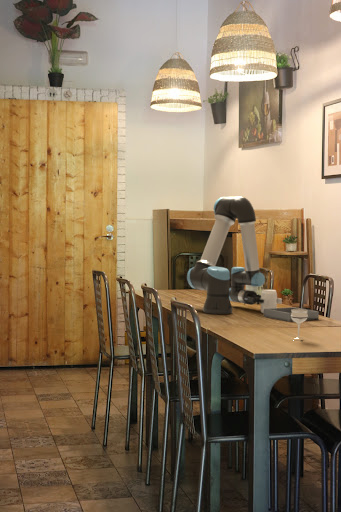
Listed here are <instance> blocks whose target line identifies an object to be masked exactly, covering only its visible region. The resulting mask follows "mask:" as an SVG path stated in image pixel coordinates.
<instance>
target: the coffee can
mask: <svg viewBox="0 0 341 512" xmlns="http://www.w3.org/2000/svg"><path fill="white" fill-rule="evenodd" d="M245 290H250V291H254V292H256V293H257V295H261V292H262V290H264V284H263V285H262V286H259V287H253V286H248V285H245ZM259 304H261V303H260V302H259Z"/></svg>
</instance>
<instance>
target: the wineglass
mask: <svg viewBox="0 0 341 512" xmlns="http://www.w3.org/2000/svg"><path fill="white" fill-rule="evenodd" d="M302 309H303V308H301V309H292V310H291V311H292V313H291V319H292V320H293V321H292V322H294V323H296V325H297V337H296V338H294V339H302V338H300V329H301V328H300V327H301V324H302V323H304V322H305V320H306V319H307V317H308V315H307V311H308V310H309V309H306V310H302Z"/></svg>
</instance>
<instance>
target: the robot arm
mask: <svg viewBox="0 0 341 512" xmlns="http://www.w3.org/2000/svg"><path fill="white" fill-rule="evenodd" d="M213 212H214V215H213V217H214V220H215V221H214V224H213V226H212V229H211V231H210V234H209V237H208V239H207V242H206V245H205V246H204V249H203V253H202V255H201V257H200V260H197V261H196V262H195V265H194V266H193V267H191V268H189V269H188V271H187V275H186V281H187V283H188V285H189V286H190V287H191V288H192V289H196V290H197V291H206V298H205V301H204V304H203V306H202V313H204V314H210V315H211V314H212V315H213V314H214V315H216V314H217V315H230V314H233V307H232V303H231V302H233V303H240V304H243V305H250V306H252V305H253V306H254V305H255V304H257V305H261V304H266V305H269V299H263V298H261V295H257V293H256V292H254V291H250V290H246V289H245V288H246V285H248V286H253V287H259V286H262V285H263V286H264V284H265V282H266V281H265V280H266V278H265V275H264V274H263V273H262V272H261V270H260V262H259V252H258V245H257V244H258V242H257V234H256V228H255V227H256V225H255V224H256V221H257V219H256V211H255V209H254V207H253V205H252V203H251V202H250V200H249V199H248V198H246V197H244V196H240V195H239V196H227V195H226V196H221V197H219V198H218V199H217V200H215V202H214V204H213ZM236 220H237V223H238V225H239V226H240V234H241V241H242V244H241V245H242V252H243V260H244V267H242V266H233V267H232V268H231V273H230V270H229V269H228V268H226V267H223V266H216V265H217V262H218V259H219V257H220V255H221V251H222V249H223V246H224V244H225V241H226V240H227V239H226V238H227V235H228V234H229V230H230V228H231V226H233V225H235V222H236ZM259 302H260V303H259ZM277 304H279V305H282V304H283V299H282V298H280V297H277Z"/></svg>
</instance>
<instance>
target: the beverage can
mask: <svg viewBox="0 0 341 512" xmlns="http://www.w3.org/2000/svg"><path fill="white" fill-rule="evenodd" d="M261 298H263V299H269V305H266V304H261V303H260V312H261V313H262V314H264V309H269V308H278V307H277V306H278V305H277V298H278V293H277V290H276V289H263V290H262V292H261Z"/></svg>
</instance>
